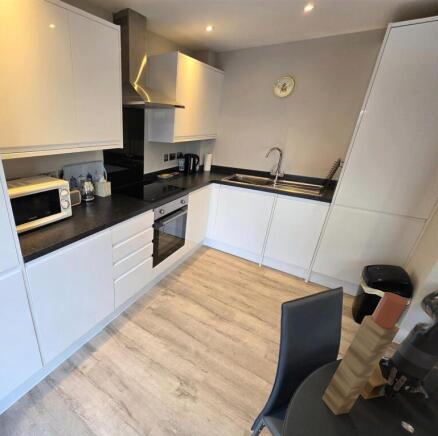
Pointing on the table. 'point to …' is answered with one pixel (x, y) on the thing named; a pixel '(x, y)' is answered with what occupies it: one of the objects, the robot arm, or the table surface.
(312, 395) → the table surface
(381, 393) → the green toy piece
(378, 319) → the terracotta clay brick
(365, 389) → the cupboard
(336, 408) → the column
